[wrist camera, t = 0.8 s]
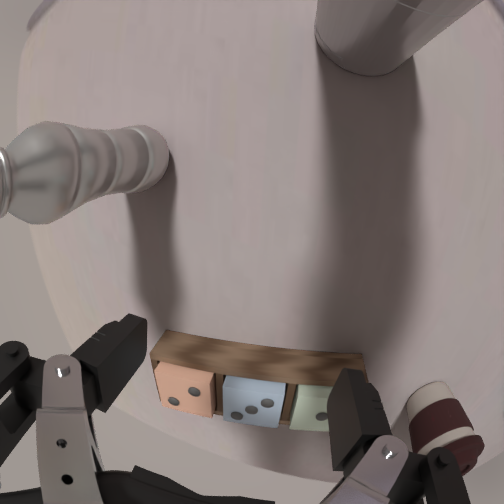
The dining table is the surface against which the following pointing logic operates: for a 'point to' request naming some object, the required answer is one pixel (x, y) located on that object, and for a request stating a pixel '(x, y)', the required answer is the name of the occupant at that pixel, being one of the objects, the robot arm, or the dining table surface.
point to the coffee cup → (442, 425)
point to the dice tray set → (253, 364)
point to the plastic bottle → (76, 168)
